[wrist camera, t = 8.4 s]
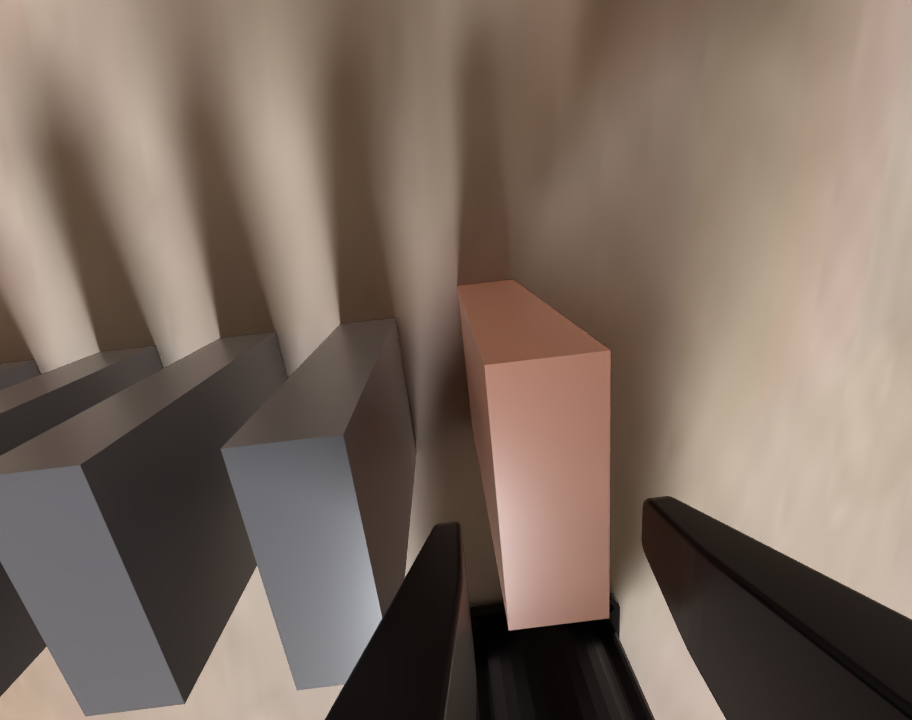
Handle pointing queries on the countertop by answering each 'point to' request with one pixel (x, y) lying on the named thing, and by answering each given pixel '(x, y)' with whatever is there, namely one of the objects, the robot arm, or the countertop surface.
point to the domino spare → (540, 452)
